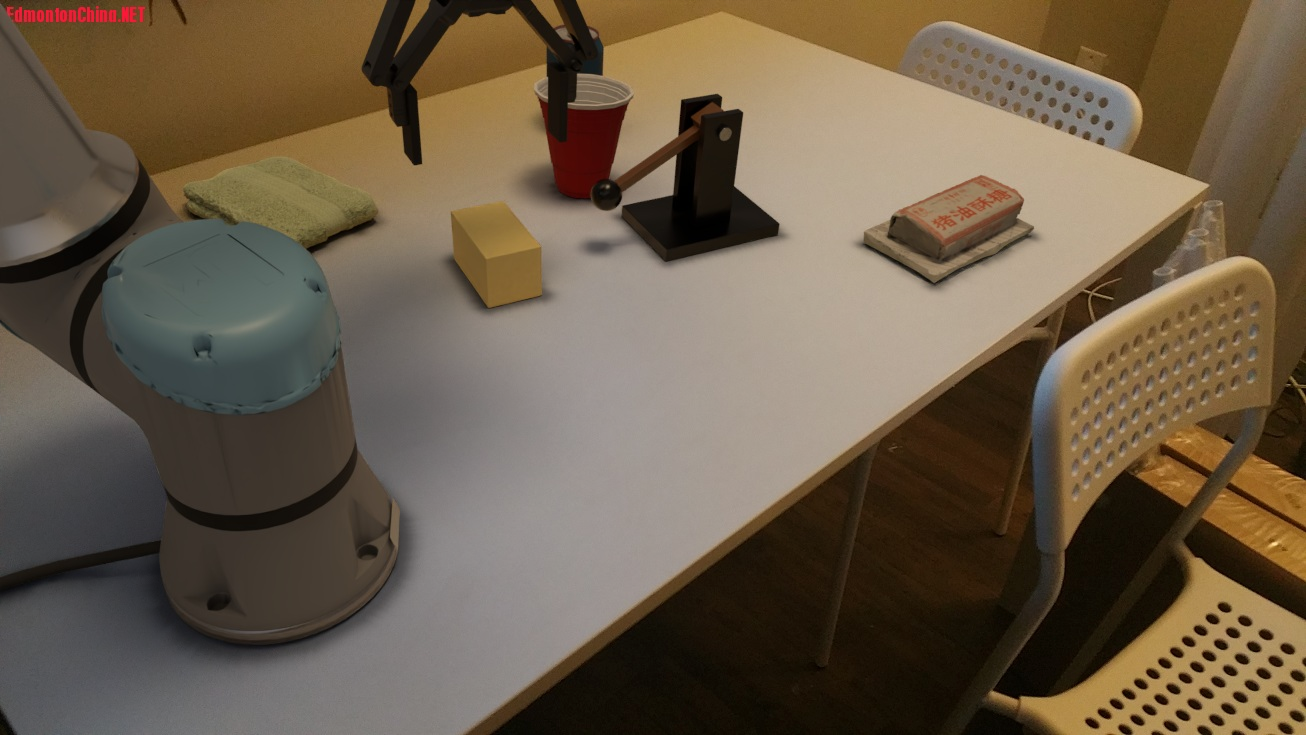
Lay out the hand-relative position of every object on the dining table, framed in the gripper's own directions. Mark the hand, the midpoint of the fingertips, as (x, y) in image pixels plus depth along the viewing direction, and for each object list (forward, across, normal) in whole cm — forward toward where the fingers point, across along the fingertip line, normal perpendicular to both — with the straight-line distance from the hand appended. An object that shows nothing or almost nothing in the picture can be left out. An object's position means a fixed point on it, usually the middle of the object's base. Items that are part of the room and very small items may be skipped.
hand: (487, 147), depth 88 cm
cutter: (+14, +24, +1) cm, 28 cm away
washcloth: (+14, -16, +20) cm, 29 cm away
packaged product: (+14, +48, -12) cm, 52 cm away
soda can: (+14, +22, +29) cm, 39 cm away
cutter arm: (+6, +19, +1) cm, 20 cm away
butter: (+14, +1, 0) cm, 14 cm away
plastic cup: (+14, +16, +14) cm, 26 cm away
